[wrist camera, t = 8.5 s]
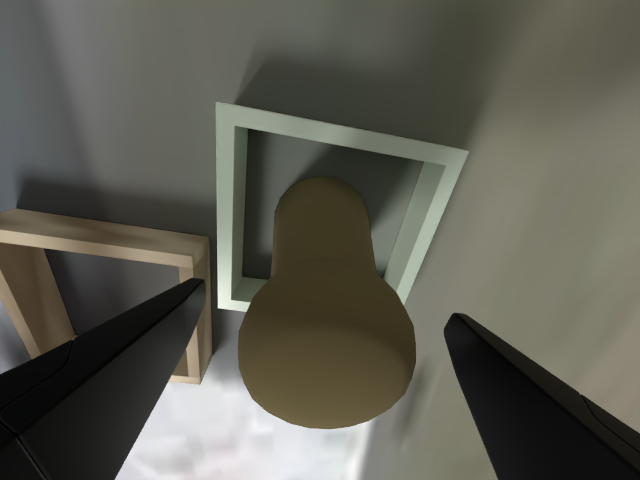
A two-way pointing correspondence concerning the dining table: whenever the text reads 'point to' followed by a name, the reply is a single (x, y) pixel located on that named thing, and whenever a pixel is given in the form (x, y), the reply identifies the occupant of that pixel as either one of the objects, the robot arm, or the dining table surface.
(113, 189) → the dining table surface
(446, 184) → the bin
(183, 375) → the bin
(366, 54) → the dining table surface
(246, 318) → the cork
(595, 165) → the dining table surface
